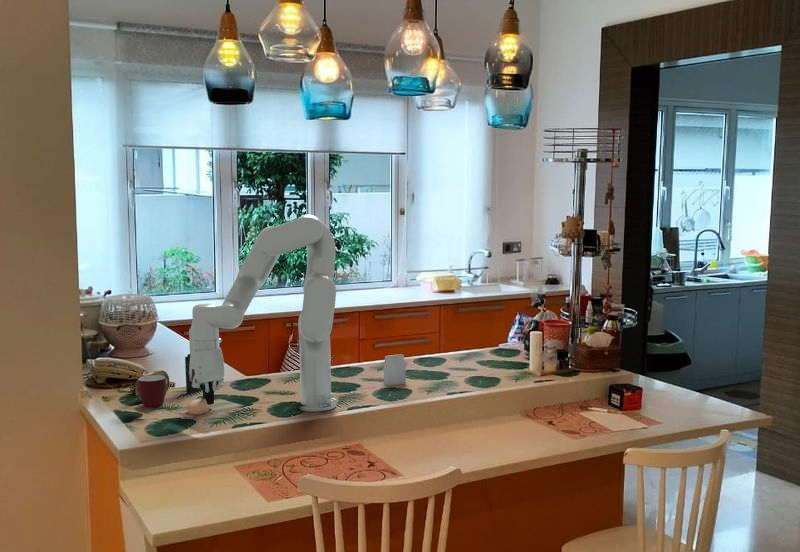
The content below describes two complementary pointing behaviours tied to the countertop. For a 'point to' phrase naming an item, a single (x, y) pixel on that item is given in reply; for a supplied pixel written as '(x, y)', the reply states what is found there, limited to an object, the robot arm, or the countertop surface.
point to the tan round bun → (198, 406)
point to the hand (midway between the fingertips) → (208, 403)
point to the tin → (150, 375)
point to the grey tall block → (394, 370)
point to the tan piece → (212, 408)
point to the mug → (152, 390)
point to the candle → (187, 363)
